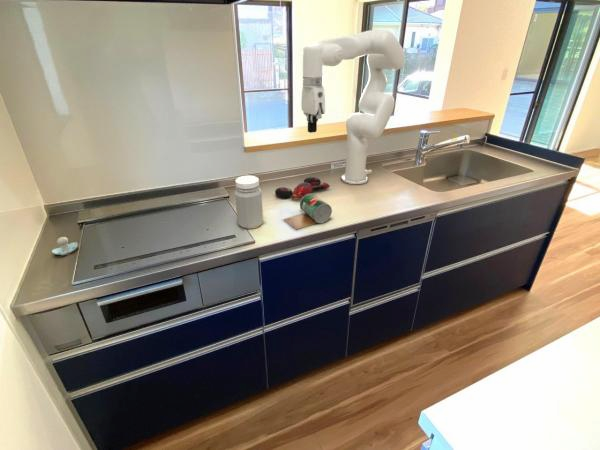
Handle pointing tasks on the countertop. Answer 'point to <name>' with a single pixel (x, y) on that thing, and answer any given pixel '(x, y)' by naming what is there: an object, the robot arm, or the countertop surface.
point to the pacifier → (64, 247)
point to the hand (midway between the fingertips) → (312, 131)
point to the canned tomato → (315, 208)
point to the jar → (248, 202)
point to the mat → (300, 221)
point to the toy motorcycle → (302, 188)
